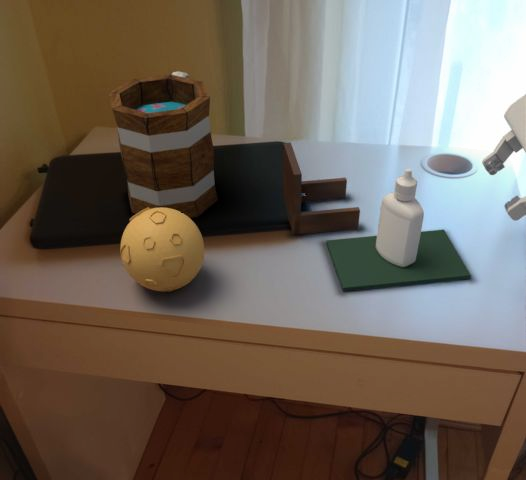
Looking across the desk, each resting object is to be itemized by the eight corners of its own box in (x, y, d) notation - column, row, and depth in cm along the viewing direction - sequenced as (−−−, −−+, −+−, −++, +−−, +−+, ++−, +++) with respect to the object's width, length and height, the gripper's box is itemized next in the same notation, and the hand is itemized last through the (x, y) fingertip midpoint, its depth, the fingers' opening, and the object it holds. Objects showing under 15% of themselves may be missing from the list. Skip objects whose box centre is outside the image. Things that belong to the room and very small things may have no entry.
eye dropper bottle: (382, 270, 78) (395, 183, 70) (373, 243, 82) (384, 159, 74) (417, 268, 79) (434, 181, 70) (406, 241, 82) (421, 156, 74)
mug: (208, 225, 87) (198, 120, 77) (114, 219, 89) (91, 115, 78) (233, 156, 101) (227, 59, 90) (151, 152, 102) (136, 56, 92)
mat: (443, 233, 85) (444, 229, 84) (470, 279, 78) (471, 275, 77) (326, 243, 84) (326, 240, 83) (342, 291, 76) (342, 287, 76)
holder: (344, 195, 92) (349, 137, 86) (358, 229, 86) (364, 168, 79) (283, 201, 91) (283, 142, 85) (292, 235, 85) (294, 174, 79)
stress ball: (152, 252, 83) (141, 183, 76) (220, 268, 80) (215, 199, 73) (112, 297, 76) (95, 227, 69) (184, 317, 74) (174, 246, 67)
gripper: (564, 44, 71) (460, 129, 78) (644, 131, 57) (507, 225, 64) (590, 83, 74) (488, 161, 81) (672, 174, 60) (538, 259, 67)
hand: (496, 190), depth 72 cm, fingers open, 8 cm apart
